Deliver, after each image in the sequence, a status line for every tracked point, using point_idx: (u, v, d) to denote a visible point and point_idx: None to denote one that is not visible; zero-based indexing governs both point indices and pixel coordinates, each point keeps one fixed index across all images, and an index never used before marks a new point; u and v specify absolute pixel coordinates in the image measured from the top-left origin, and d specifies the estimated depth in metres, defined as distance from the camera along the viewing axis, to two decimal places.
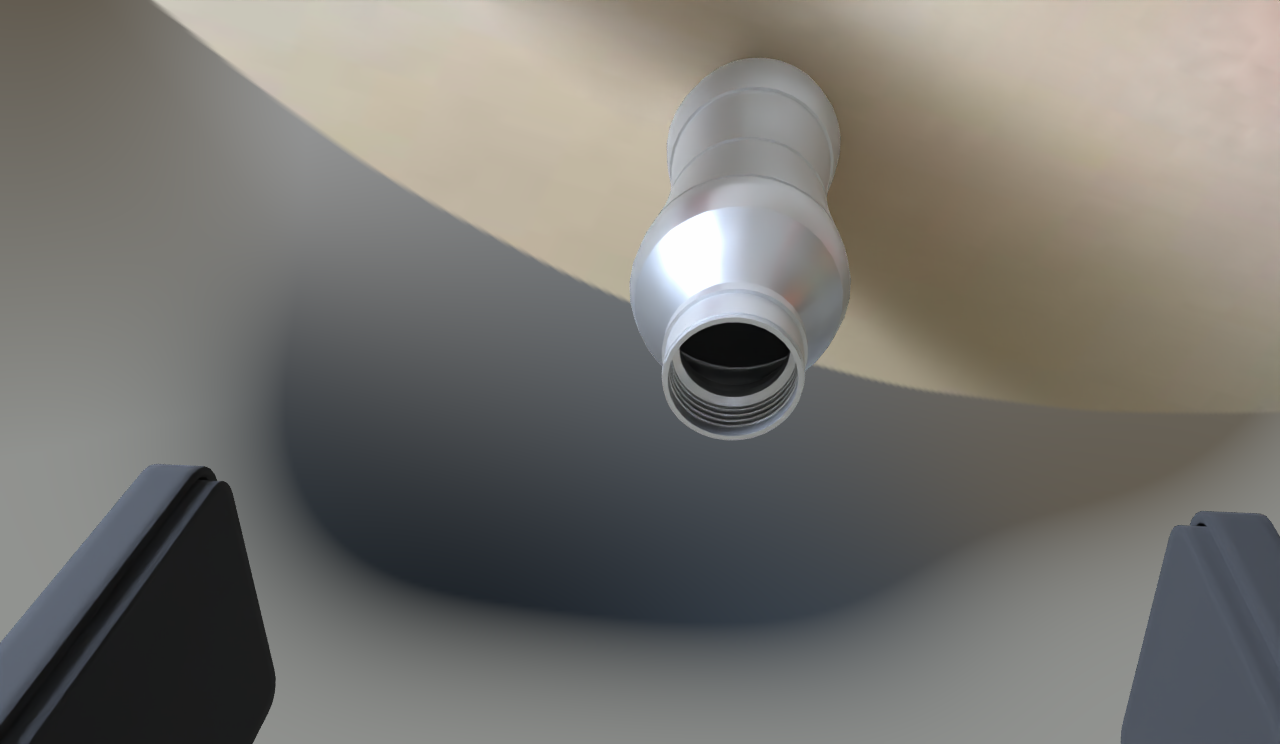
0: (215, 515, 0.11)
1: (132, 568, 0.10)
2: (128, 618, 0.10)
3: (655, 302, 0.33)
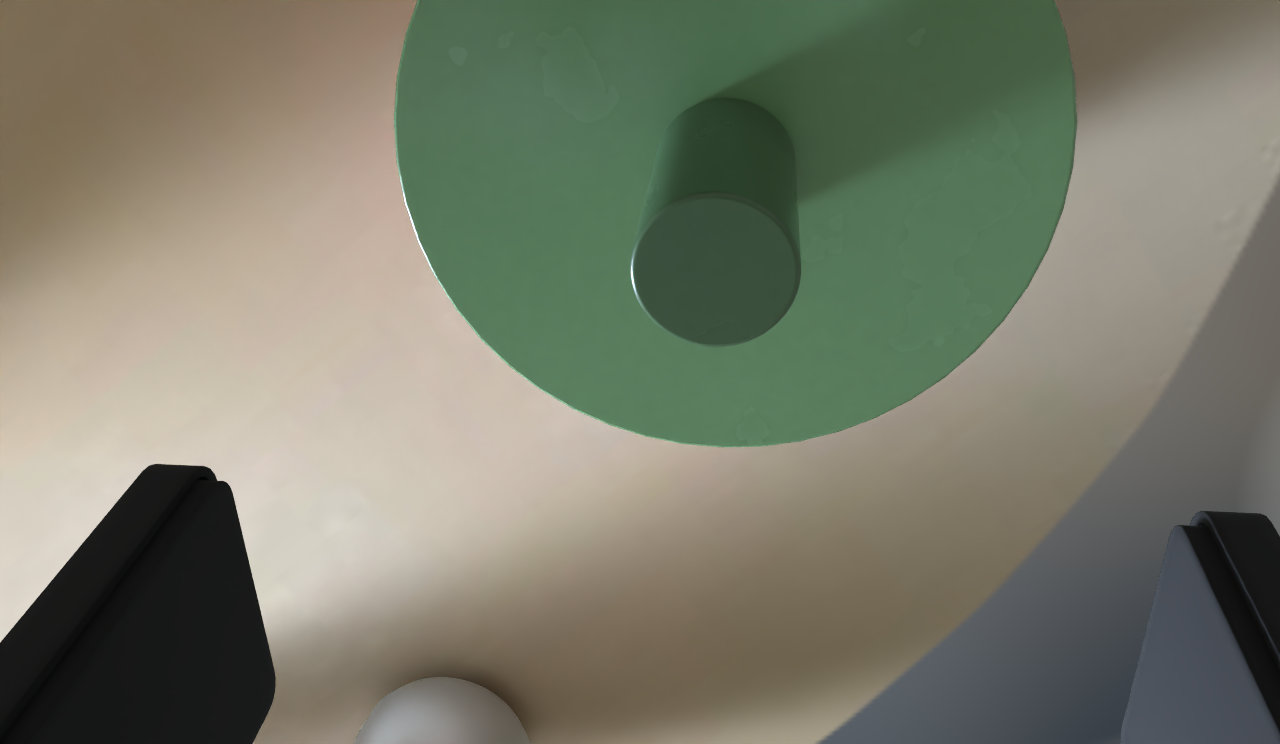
0: (215, 515, 0.11)
1: (132, 568, 0.10)
2: (128, 618, 0.10)
3: None
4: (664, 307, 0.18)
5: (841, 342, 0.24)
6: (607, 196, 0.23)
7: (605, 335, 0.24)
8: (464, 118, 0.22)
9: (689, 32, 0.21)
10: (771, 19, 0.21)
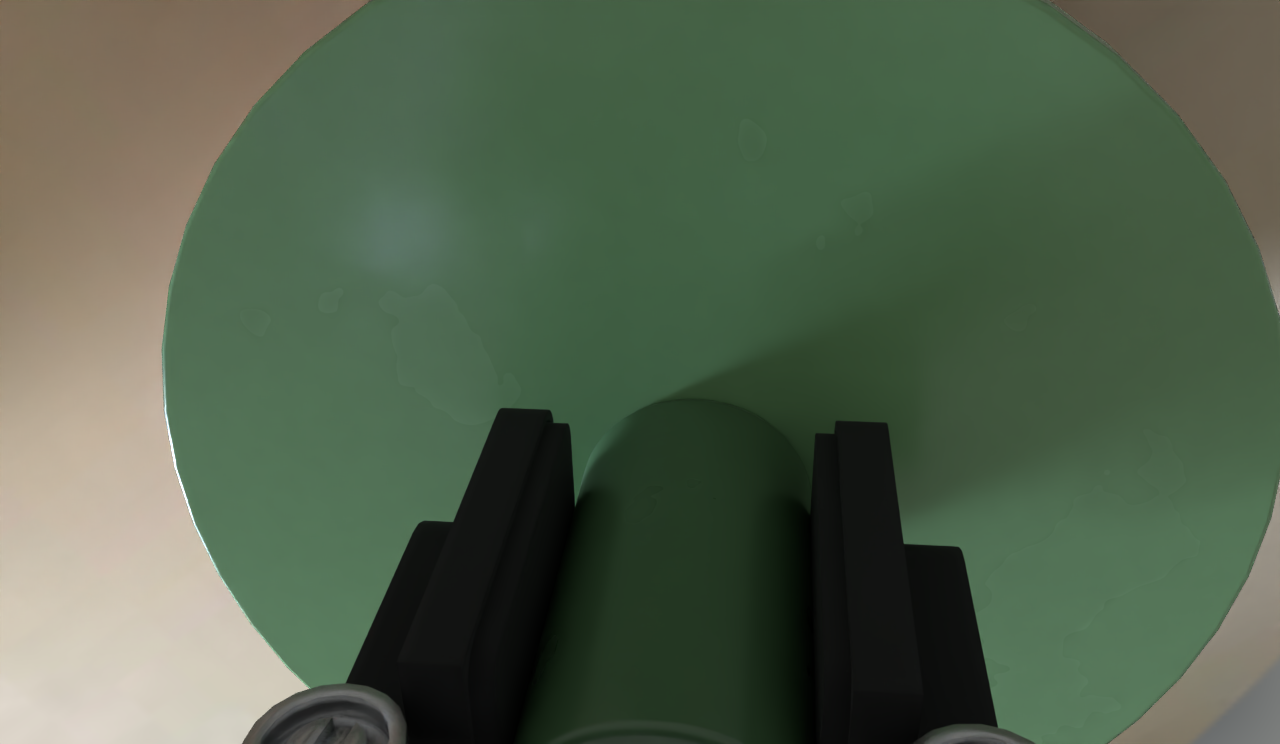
0: (565, 455, 0.12)
1: (522, 497, 0.11)
2: (534, 542, 0.11)
3: None
4: None
5: None
6: None
7: None
8: (274, 412, 0.14)
9: (633, 297, 0.12)
10: (771, 283, 0.12)
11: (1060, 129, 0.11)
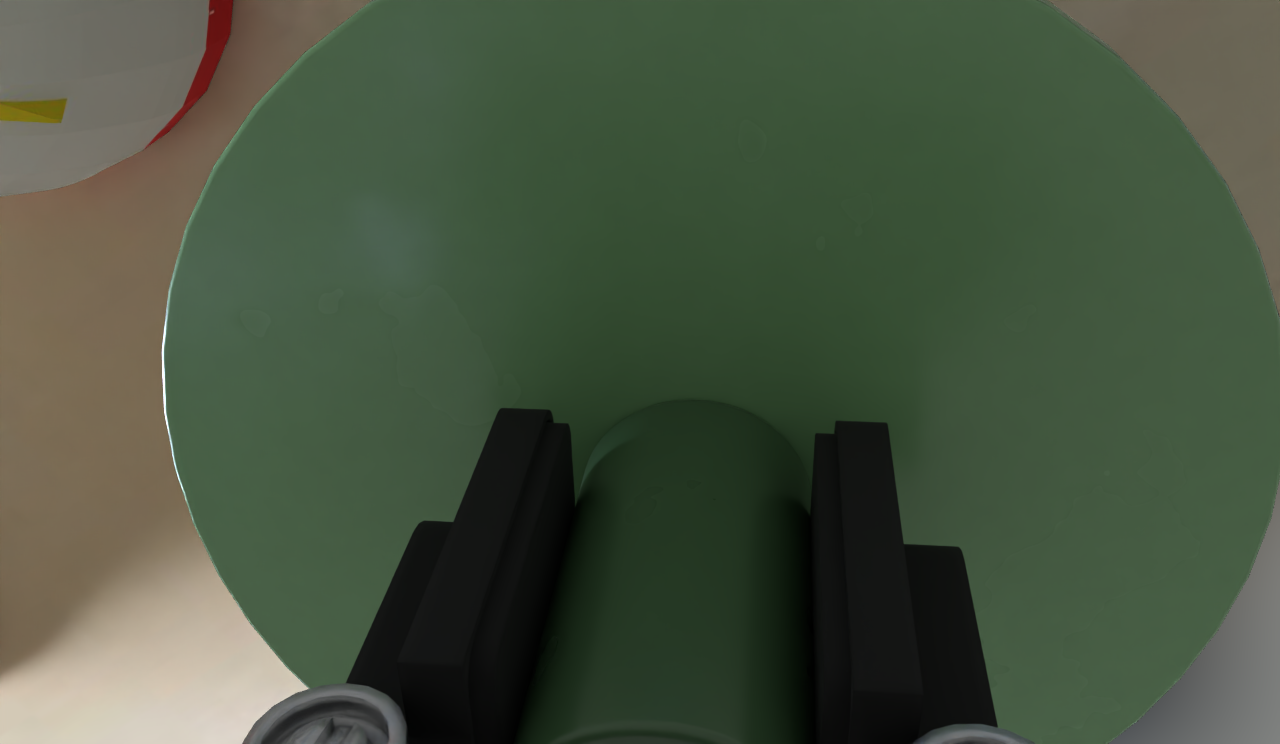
0: (565, 454, 0.12)
1: (521, 497, 0.11)
2: (533, 541, 0.11)
3: None
4: None
5: None
6: None
7: None
8: (274, 413, 0.14)
9: (633, 298, 0.12)
10: (771, 284, 0.12)
11: (1060, 130, 0.11)
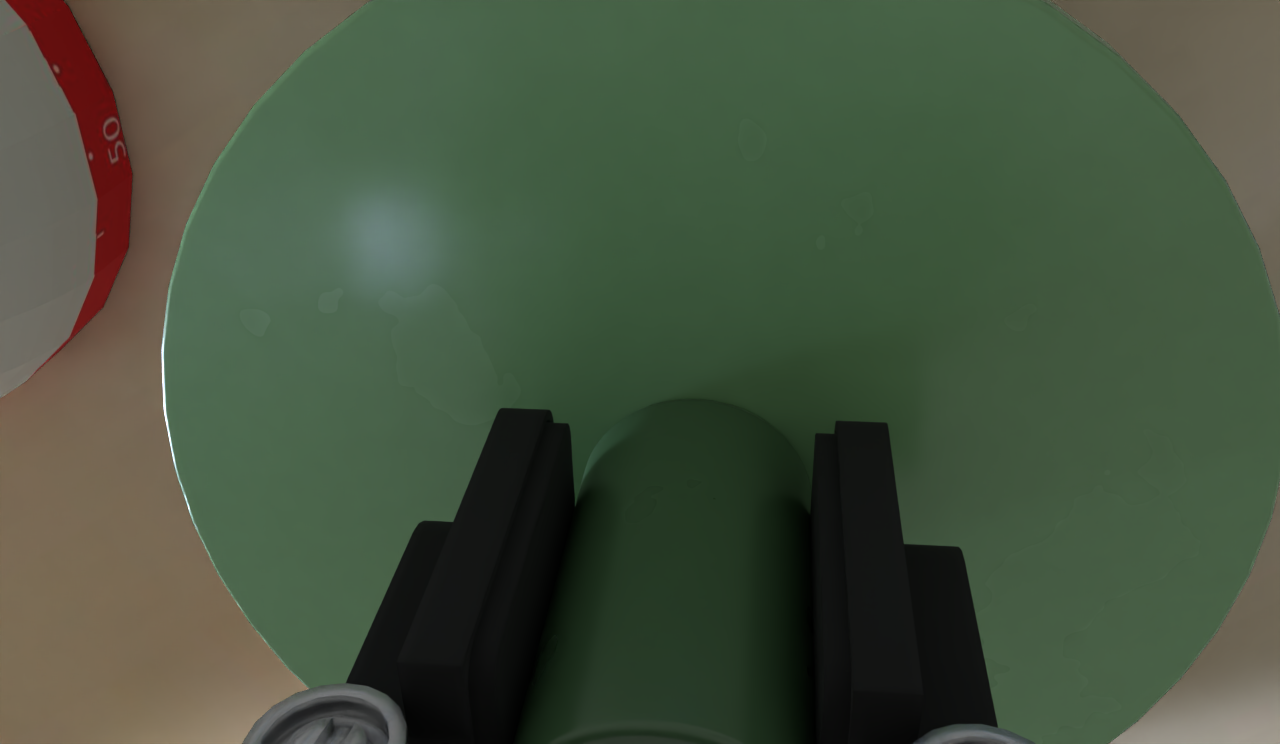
0: (565, 454, 0.12)
1: (523, 497, 0.11)
2: (534, 541, 0.11)
3: None
4: None
5: None
6: None
7: None
8: (273, 412, 0.14)
9: (633, 298, 0.12)
10: (771, 283, 0.12)
11: (1060, 129, 0.11)
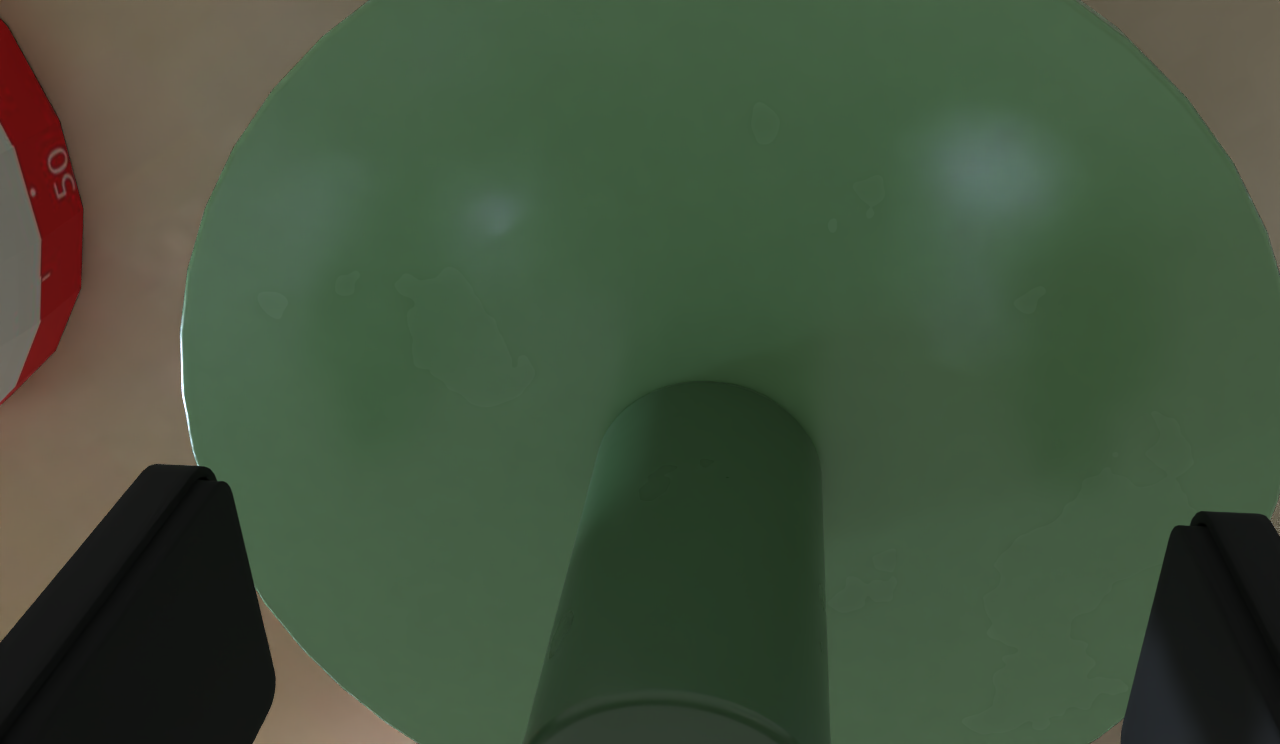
0: (215, 515, 0.11)
1: (133, 568, 0.10)
2: (127, 618, 0.10)
3: None
4: None
5: (889, 717, 0.15)
6: (521, 510, 0.14)
7: (526, 691, 0.16)
8: (290, 394, 0.14)
9: (646, 281, 0.13)
10: (783, 266, 0.12)
11: (1070, 112, 0.11)
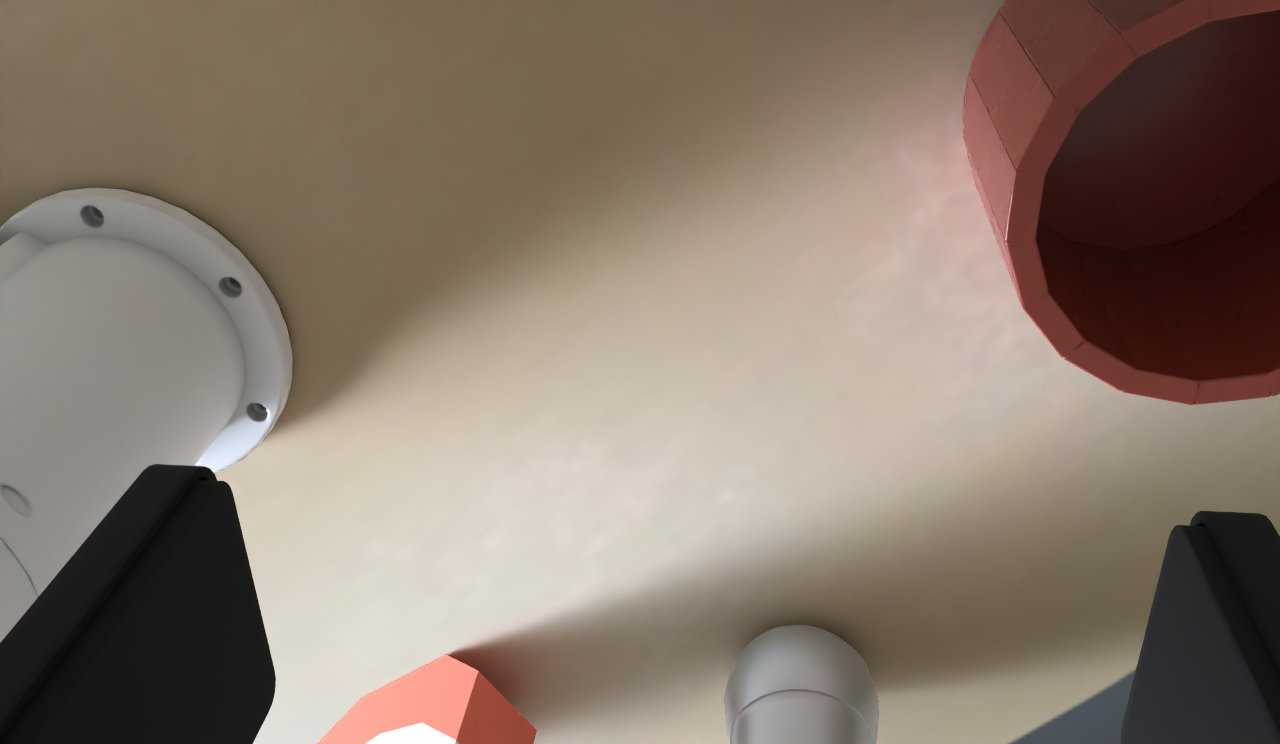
0: (215, 515, 0.11)
1: (132, 566, 0.10)
2: (128, 618, 0.10)
3: None
4: None
5: None
6: None
7: None
8: None
9: None
10: None
11: None
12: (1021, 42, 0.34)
